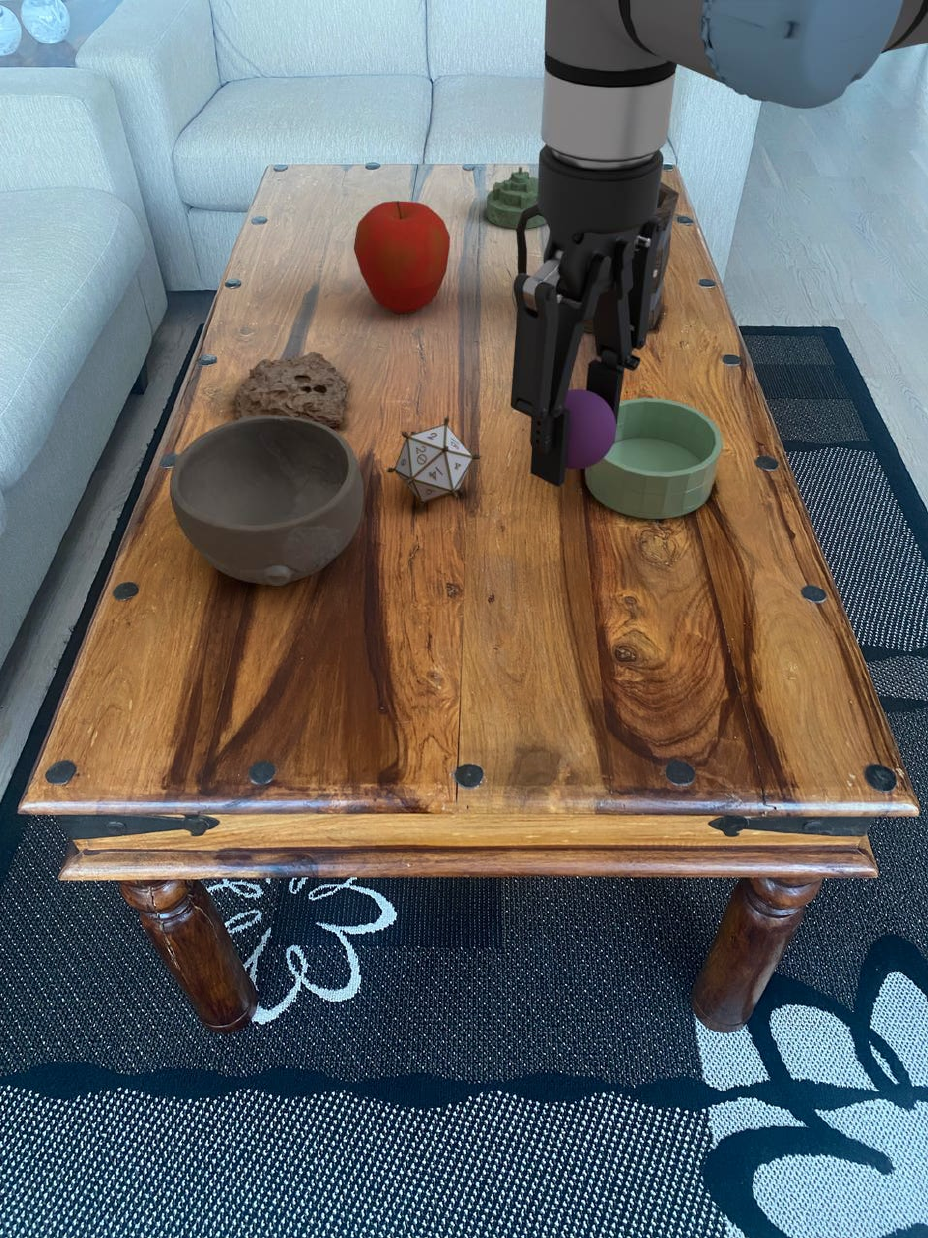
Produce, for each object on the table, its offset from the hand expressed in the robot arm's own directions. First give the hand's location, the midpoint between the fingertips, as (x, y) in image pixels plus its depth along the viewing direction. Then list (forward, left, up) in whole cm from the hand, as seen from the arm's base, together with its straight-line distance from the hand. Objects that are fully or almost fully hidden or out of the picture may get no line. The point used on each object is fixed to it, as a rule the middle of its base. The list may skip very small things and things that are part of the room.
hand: (573, 457), depth 72 cm
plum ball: (0, 0, +3) cm, 3 cm away
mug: (+31, -45, -17) cm, 58 cm away
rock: (+45, -6, -17) cm, 49 cm away
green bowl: (+5, -21, -17) cm, 28 cm away
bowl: (+26, +12, -17) cm, 33 cm away
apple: (+50, -30, -17) cm, 61 cm away
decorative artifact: (+57, -62, -17) cm, 86 cm away
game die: (+20, -4, -17) cm, 27 cm away
